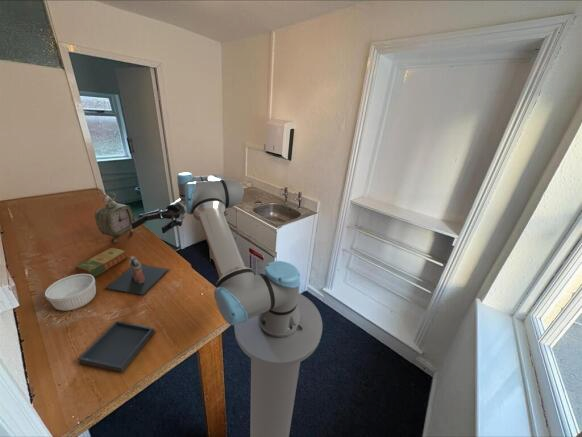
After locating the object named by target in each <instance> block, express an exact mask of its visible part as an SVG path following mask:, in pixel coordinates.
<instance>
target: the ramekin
mask: <svg viewBox="0 0 582 437" xmlns="http://www.w3.org/2000/svg"><path fill="white" fill-rule="evenodd" d="M96 294H97V286H96V279H95V277H93V276H92V275H90V274H77V273H76V274H72V275H69V276H66V277H63V278H60V279H58V280H57V281H55V282H53V283H52V284H50V285H49V286H48V287H47V288H46V290H45V291H44V296H45V298H46V300H47V301H49V302H50V304H51V305H52V306H53V307H54V309H56V310H58V311H64V312H65V311H73V310H77V309H79V308H82V307H84V306H86V305H87V304H89V303H90V302H91V301H92V300H93V299H94V298H95V297H96Z"/></svg>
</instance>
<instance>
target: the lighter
mask: <svg viewBox="0 0 582 437" xmlns="http://www.w3.org/2000/svg"><path fill="white" fill-rule="evenodd" d="M128 263H129V266H130V268H131V271H132V273H133V278H134V280H135V281H136V282H137V283H139V284H140V283H143V282H144V281H145V279H144V276H143V273H142V269H141V268H142V267H141V265H142V263H141V261H139V259H137V257H136V256H134V255H131V256H130V260H129V261H128Z"/></svg>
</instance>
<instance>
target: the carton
mask: <svg viewBox="0 0 582 437" xmlns="http://www.w3.org/2000/svg"><path fill="white" fill-rule="evenodd" d="M125 259H127V254H126V251H125V250H123V249H119V248H116V247H109V248H107V249H105V250H104V251H101V252H99V253H98V254H96V255H94V256H92V257H90V258H88V259H86V260H85V261H82V262H81V263H78V264H76V265H75V266H74V267H75V268H74V269H75V272H76V274H90V275H92V276H93V277H94V278H96V277H97V276H99V275H100V274H103V273H105V272H106V271H107V270H109V269H111V268H112V267H114V266H115V265H117V264H119V263H121V262H122V261H124V260H125Z"/></svg>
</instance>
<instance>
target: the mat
mask: <svg viewBox="0 0 582 437" xmlns="http://www.w3.org/2000/svg"><path fill="white" fill-rule="evenodd" d="M141 267H142V268H141V269H142V273H143V276H144V279H145V281H144V282H143V283H140V284H139V283H137V282H136V281H135V280H134V278H133V273H132V271H131V267H130V268H128V270H125V272H124V273H122V274H121V275H120V276H118V278H116V279H114V280H113V281H112V282H111V283H110V284H108V285H107V286H105V290H110V291H115V292H120V293H124V294H125V293H126V294H132V295H137V296H144V295H145V294H146V293H147V292H148V291H149V290H150V289H151V288H153V287H154V285H156V283H158V281H160V279H161V278H162V277H164V276H165V275H166V274H167V272H169V269H167V268H163V267H162V268H161V267H157V266H156V267H155V266H149V265H143V264H141Z"/></svg>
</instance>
